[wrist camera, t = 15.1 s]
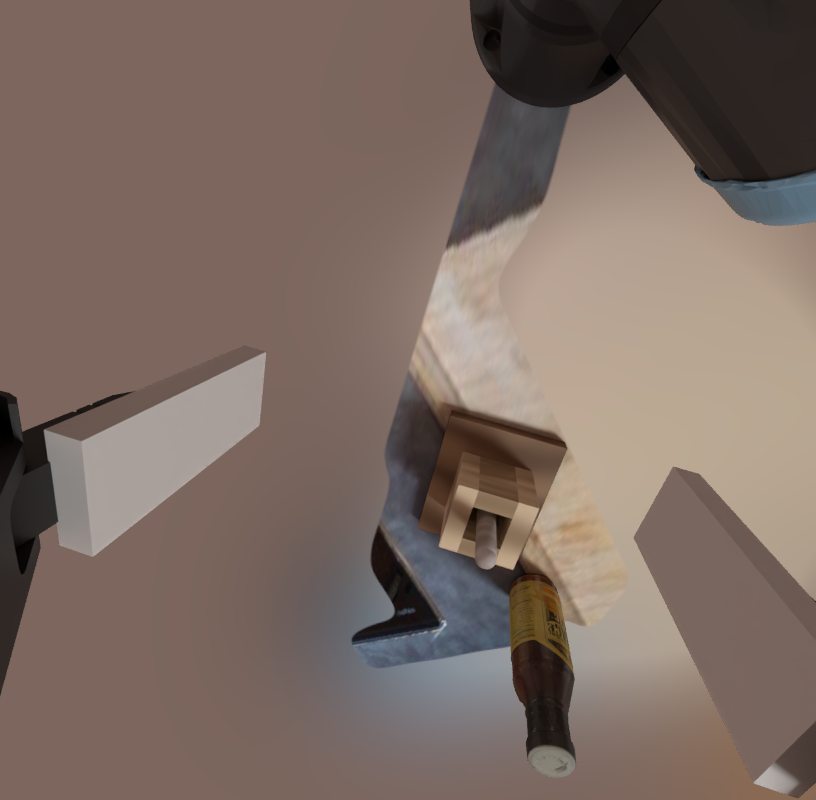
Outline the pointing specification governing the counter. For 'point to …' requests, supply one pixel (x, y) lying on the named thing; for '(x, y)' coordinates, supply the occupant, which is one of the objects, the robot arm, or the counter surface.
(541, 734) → the sauce bottle
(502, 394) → the counter surface
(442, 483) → the rod stand
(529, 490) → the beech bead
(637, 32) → the robot arm
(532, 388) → the counter surface
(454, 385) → the counter surface
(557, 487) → the counter surface
